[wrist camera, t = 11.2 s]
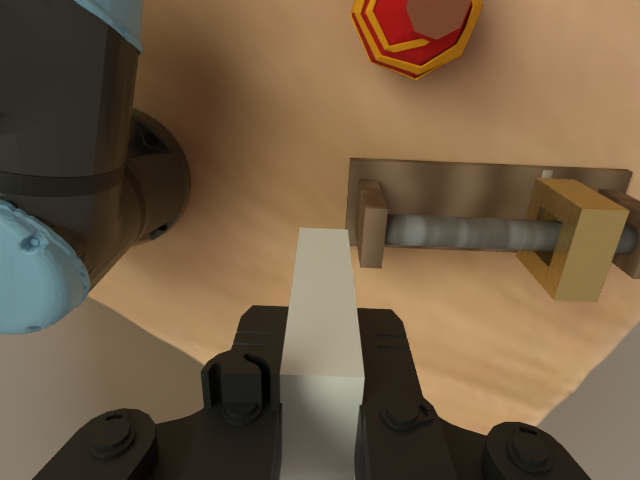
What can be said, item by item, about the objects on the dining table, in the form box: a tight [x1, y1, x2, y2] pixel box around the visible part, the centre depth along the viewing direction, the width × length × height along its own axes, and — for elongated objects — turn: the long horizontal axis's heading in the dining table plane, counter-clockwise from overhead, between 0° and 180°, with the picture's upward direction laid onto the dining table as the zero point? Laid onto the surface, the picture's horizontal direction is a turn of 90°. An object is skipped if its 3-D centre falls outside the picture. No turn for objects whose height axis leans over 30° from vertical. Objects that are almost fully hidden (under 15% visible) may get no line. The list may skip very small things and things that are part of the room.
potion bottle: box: [350, 0, 483, 80], centre depth 35 cm, size 10×10×15 cm
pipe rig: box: [345, 158, 640, 279], centre depth 45 cm, size 30×10×10 cm, turn 88°
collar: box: [516, 178, 629, 302], centre depth 43 cm, size 4×9×9 cm, turn 178°
